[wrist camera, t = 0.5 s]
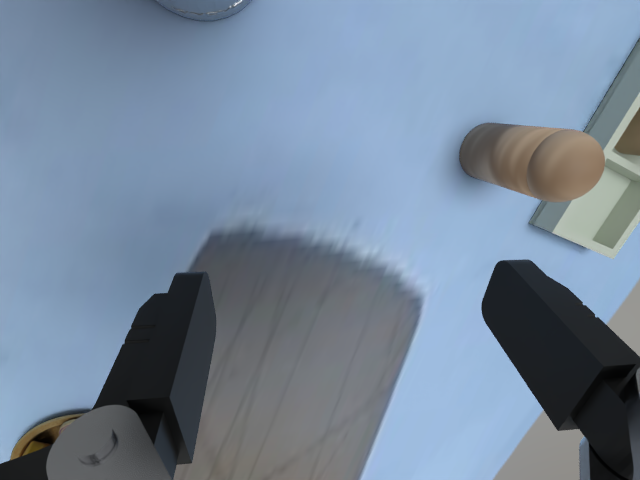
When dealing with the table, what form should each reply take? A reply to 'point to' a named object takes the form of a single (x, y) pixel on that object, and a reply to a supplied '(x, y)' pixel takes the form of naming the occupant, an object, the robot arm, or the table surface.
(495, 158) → the round-topped wooden peg
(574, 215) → the compartment tray
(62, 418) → the toy sandwich meal
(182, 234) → the table surface
